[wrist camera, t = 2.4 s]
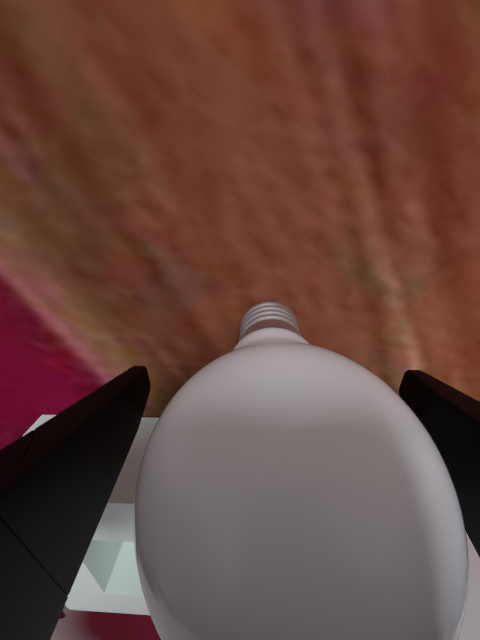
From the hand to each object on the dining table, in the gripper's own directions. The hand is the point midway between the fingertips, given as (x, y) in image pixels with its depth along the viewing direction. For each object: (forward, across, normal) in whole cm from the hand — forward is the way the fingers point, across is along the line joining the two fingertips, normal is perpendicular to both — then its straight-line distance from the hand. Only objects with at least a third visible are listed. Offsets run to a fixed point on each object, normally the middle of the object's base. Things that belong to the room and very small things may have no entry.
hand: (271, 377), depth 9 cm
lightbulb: (+4, 0, 0) cm, 4 cm away
